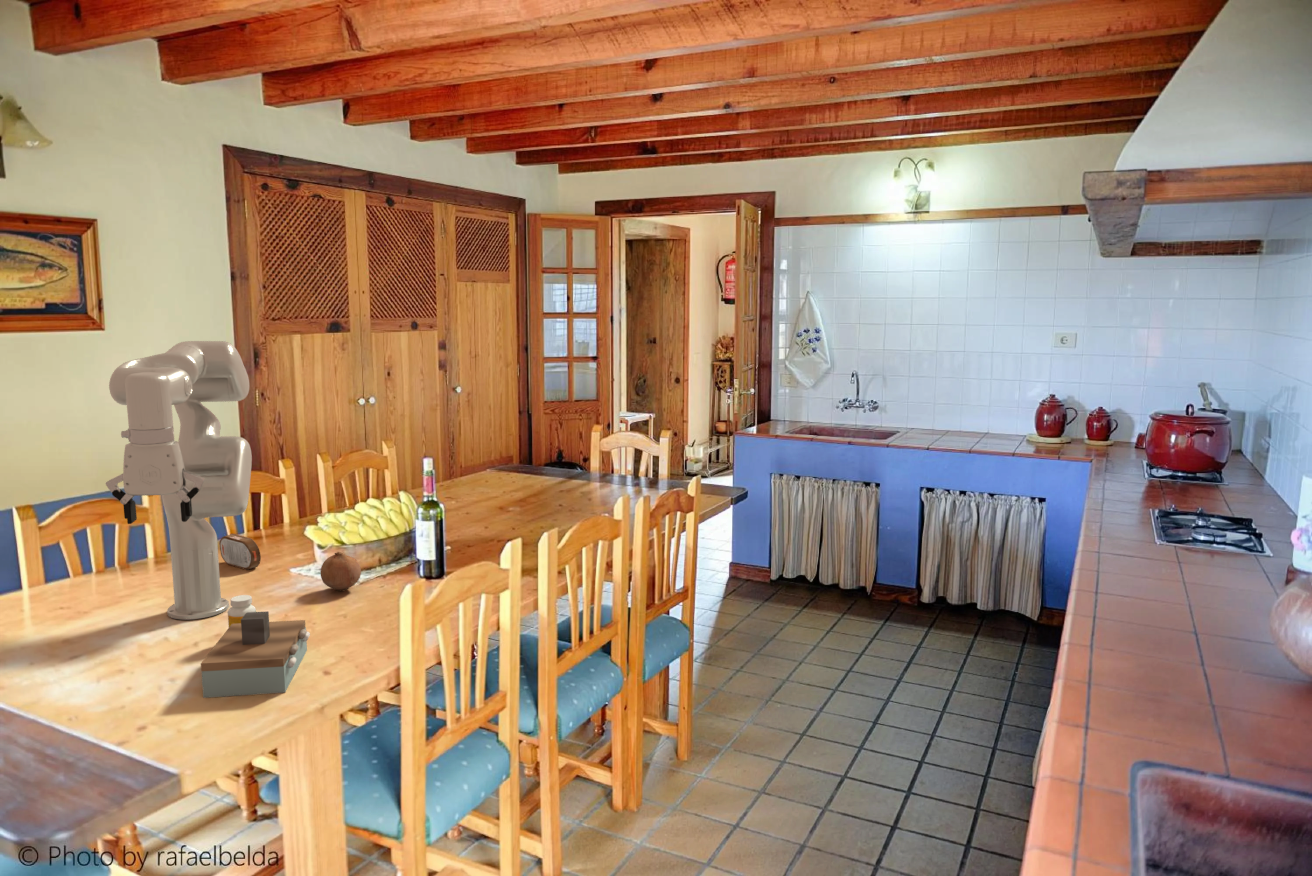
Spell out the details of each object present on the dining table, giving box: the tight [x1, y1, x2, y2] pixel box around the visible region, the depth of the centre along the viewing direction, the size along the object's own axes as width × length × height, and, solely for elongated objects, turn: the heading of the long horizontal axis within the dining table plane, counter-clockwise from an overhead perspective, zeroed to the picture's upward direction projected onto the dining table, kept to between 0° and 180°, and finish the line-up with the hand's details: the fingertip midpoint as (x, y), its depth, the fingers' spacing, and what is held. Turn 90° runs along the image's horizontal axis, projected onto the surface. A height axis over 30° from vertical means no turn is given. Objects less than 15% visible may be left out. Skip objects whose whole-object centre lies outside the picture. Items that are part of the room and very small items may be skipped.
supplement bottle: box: [227, 594, 257, 628], centre depth 184 cm, size 5×5×10 cm
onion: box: [320, 551, 362, 592], centre depth 217 cm, size 10×9×10 cm
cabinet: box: [201, 626, 311, 699], centre depth 169 cm, size 20×15×5 cm
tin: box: [219, 533, 261, 571], centre depth 236 cm, size 15×3×8 cm, turn 58°
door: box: [200, 611, 308, 672], centre depth 168 cm, size 20×15×6 cm
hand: (159, 521), depth 173 cm, fingers open, 9 cm apart
